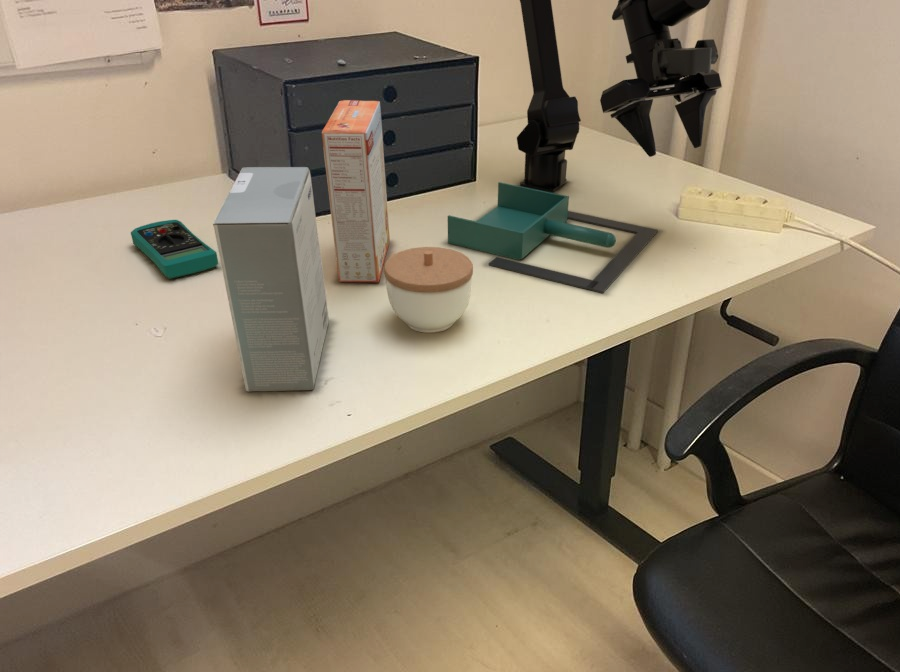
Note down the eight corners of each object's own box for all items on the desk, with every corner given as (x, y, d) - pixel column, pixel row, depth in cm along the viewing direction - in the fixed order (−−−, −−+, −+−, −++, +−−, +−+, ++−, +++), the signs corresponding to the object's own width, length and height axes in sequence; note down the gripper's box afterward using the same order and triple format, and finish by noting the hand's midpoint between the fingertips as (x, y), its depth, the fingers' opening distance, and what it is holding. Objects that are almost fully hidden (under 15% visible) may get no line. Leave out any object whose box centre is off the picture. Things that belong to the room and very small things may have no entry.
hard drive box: (267, 322, 100) (242, 165, 89) (329, 321, 101) (313, 165, 90) (243, 393, 87) (211, 220, 76) (315, 392, 88) (293, 220, 77)
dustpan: (447, 242, 122) (447, 216, 119) (498, 206, 134) (499, 181, 132) (592, 278, 113) (595, 249, 111) (632, 236, 126) (636, 210, 123)
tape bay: (488, 265, 116) (488, 263, 115) (556, 210, 134) (556, 208, 134) (602, 293, 109) (603, 291, 109) (657, 231, 127) (658, 229, 127)
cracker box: (350, 241, 121) (338, 98, 110) (391, 242, 121) (382, 99, 110) (334, 283, 109) (319, 128, 98) (379, 284, 110) (368, 130, 98)
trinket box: (406, 350, 96) (402, 279, 90) (375, 310, 104) (370, 242, 98) (487, 331, 100) (488, 262, 95) (451, 294, 108) (450, 228, 103)
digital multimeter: (181, 233, 122) (177, 214, 120) (221, 268, 112) (217, 248, 111) (131, 245, 118) (127, 226, 116) (168, 282, 108) (163, 262, 107)
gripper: (640, 19, 101) (670, 143, 102) (738, 12, 110) (763, 126, 112) (585, 53, 110) (613, 166, 112) (680, 44, 120) (704, 149, 122)
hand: (675, 151), depth 114 cm, fingers open, 9 cm apart
